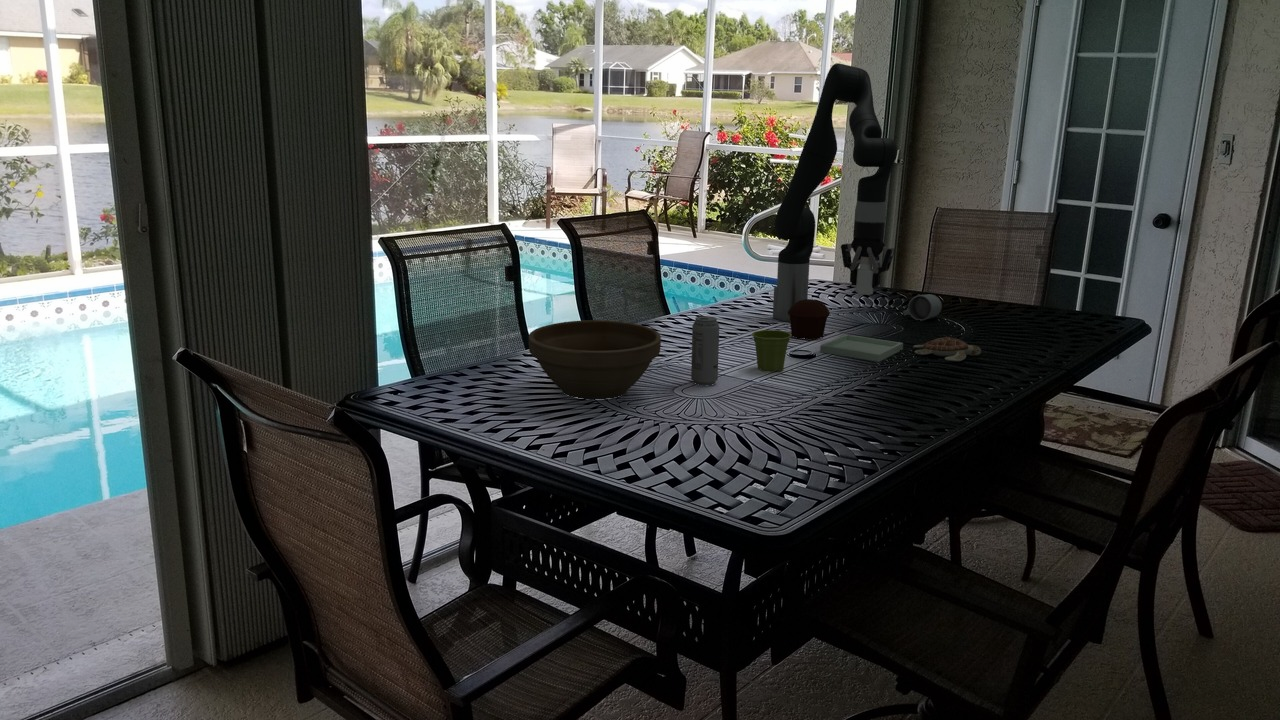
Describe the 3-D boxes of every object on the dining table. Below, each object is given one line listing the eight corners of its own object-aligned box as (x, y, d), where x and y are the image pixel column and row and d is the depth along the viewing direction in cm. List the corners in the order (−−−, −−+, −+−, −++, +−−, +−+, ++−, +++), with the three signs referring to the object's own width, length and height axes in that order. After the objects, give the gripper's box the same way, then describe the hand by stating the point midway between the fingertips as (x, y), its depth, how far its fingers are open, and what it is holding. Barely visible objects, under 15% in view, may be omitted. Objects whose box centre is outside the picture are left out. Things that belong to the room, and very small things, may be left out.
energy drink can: (720, 386, 211) (722, 320, 207) (694, 387, 210) (695, 321, 206) (714, 378, 217) (715, 315, 213) (688, 379, 216) (690, 316, 212)
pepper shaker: (855, 291, 243) (857, 255, 240) (871, 292, 242) (873, 255, 240) (857, 294, 239) (859, 257, 236) (873, 295, 238) (875, 257, 236)
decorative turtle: (985, 367, 231) (987, 347, 230) (916, 363, 234) (917, 343, 233) (975, 349, 248) (977, 331, 247) (910, 346, 252) (912, 328, 250)
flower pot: (677, 405, 196) (678, 344, 193) (543, 416, 189) (542, 353, 185) (638, 371, 223) (639, 317, 219) (519, 379, 215) (518, 323, 212)
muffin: (800, 342, 253) (802, 305, 251) (778, 333, 263) (780, 298, 261) (837, 338, 258) (839, 302, 256) (814, 330, 268) (816, 295, 265)
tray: (819, 352, 243) (820, 345, 242) (845, 340, 255) (846, 334, 255) (878, 361, 233) (879, 354, 233) (902, 349, 246) (903, 343, 245)
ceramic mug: (942, 318, 285) (944, 293, 283) (930, 322, 279) (932, 297, 277) (910, 314, 292) (911, 289, 290) (897, 317, 286) (899, 293, 284)
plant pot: (746, 372, 223) (747, 336, 221) (755, 362, 232) (757, 328, 229) (785, 376, 220) (787, 340, 218) (793, 366, 228) (795, 331, 226)
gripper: (836, 218, 237) (832, 285, 241) (891, 223, 228) (885, 291, 233) (849, 216, 243) (845, 281, 247) (902, 220, 234) (897, 287, 239)
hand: (864, 285), depth 240 cm, fingers closed on pepper shaker, 5 cm apart
